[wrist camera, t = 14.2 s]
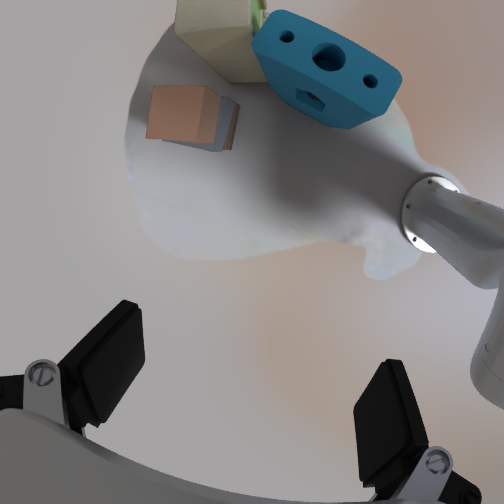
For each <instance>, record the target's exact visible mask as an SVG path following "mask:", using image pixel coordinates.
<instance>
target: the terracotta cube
mask: <svg viewBox="0 0 504 504" xmlns="http://www.w3.org/2000/svg"><path fill="white" fill-rule="evenodd" d="M220 101H221V96H219V95H218V94H216V93H215V92H213V91H212V90H210V89H209V88H207V87H206V86H154V87H153V93H152V98H151V104H150V110H149V117H148V123H147V130H146V138H148V139H163V140H176V141H187V142H197V143H211V144H213V143H214V136H215V130H216V124H217V118H218V112H219V106H220Z"/></svg>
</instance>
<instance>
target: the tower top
mask: <svg viewBox="0 0 504 504" xmlns="http://www.w3.org/2000/svg"><path fill="white" fill-rule="evenodd" d="M234 107H235V103H234V102H233V101H231V100H230V99H229V98H227V97H221V101H220V106H219V112H218V118H217V124H216V130H215V136H214V143H213V144H211V143H197V142H187V141H176V140H162V141H167V142H172V143H176V144H181V145H186V146H190V147H195V148H199V149H203V150H208V151H212V152H222V150H223V146H224V142H225V139H226V135H227V131H228V128H229V124H230V121H231V117H232V114H233V110H234Z"/></svg>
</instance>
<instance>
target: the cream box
mask: <svg viewBox="0 0 504 504" xmlns="http://www.w3.org/2000/svg"><path fill="white" fill-rule="evenodd" d="M266 9H267V3H266V0H178V1H177V7H176V15H175V23H174V35H175V36H176V37H177V38H178V39H179V40H180V41H182V42H183V43H184V44H185V45H186V46H188V47H189V48H190V49H191V50H193V51H194V52H195V53H196V54H197V55H198V56H200V57H201V58H202V59H203V60H204V61H205V62H207V63H208V64H209V65H210V66H211V67H212V68H213V69H214V70H215V71H216V72H218V73H219V74H220V75H221V76H222V77H223V78H224V79H225V80H226V81H227V82H229V83H243V82H268V81H267V79H266V77H265V75H264V72H263V70H262V68H261V66H260V64H259V61H258V59H257V57H256V55H255V53H254V51H253V49H252V45H251V43H252V40H253V38H254V37H255V35H256V34H257V33H258V31H259V30H260V28H261V27H262V25H263V24H264V22H265V21H266V20H267V17H266V13H265V10H266Z"/></svg>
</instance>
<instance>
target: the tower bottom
mask: <svg viewBox="0 0 504 504" xmlns="http://www.w3.org/2000/svg"><path fill="white" fill-rule="evenodd" d="M233 102H234V101H233ZM234 103H235V102H234ZM239 108H240V106H239V105H238V104H237V103H235V107H234V110H233V114H232V117H231V121H230V124H229V128H228V131H227V135H226V139H225V142H224V146H223V150H231V148H232V143H233V138H234V133H235V128H236V123H237V118H238V113H239Z"/></svg>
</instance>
